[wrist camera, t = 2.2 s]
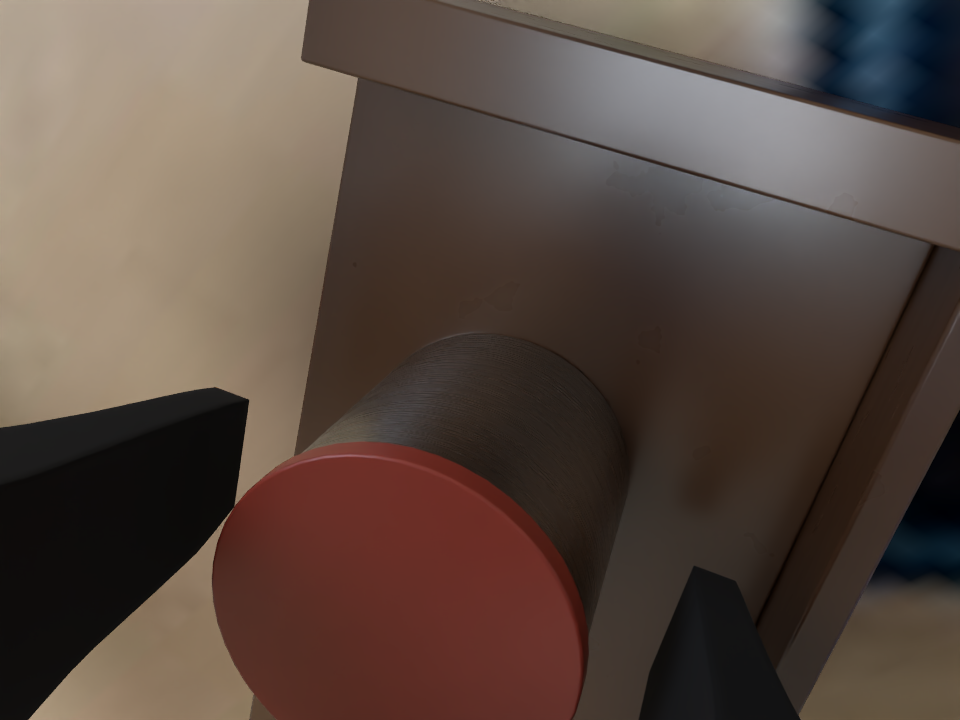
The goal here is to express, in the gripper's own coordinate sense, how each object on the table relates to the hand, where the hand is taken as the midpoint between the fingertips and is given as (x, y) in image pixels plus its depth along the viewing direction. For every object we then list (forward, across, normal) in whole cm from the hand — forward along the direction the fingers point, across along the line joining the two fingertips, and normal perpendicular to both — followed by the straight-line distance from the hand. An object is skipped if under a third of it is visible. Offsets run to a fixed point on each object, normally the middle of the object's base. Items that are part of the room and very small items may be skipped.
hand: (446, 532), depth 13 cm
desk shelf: (+6, -1, +2) cm, 6 cm away
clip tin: (+2, 0, 0) cm, 2 cm away
